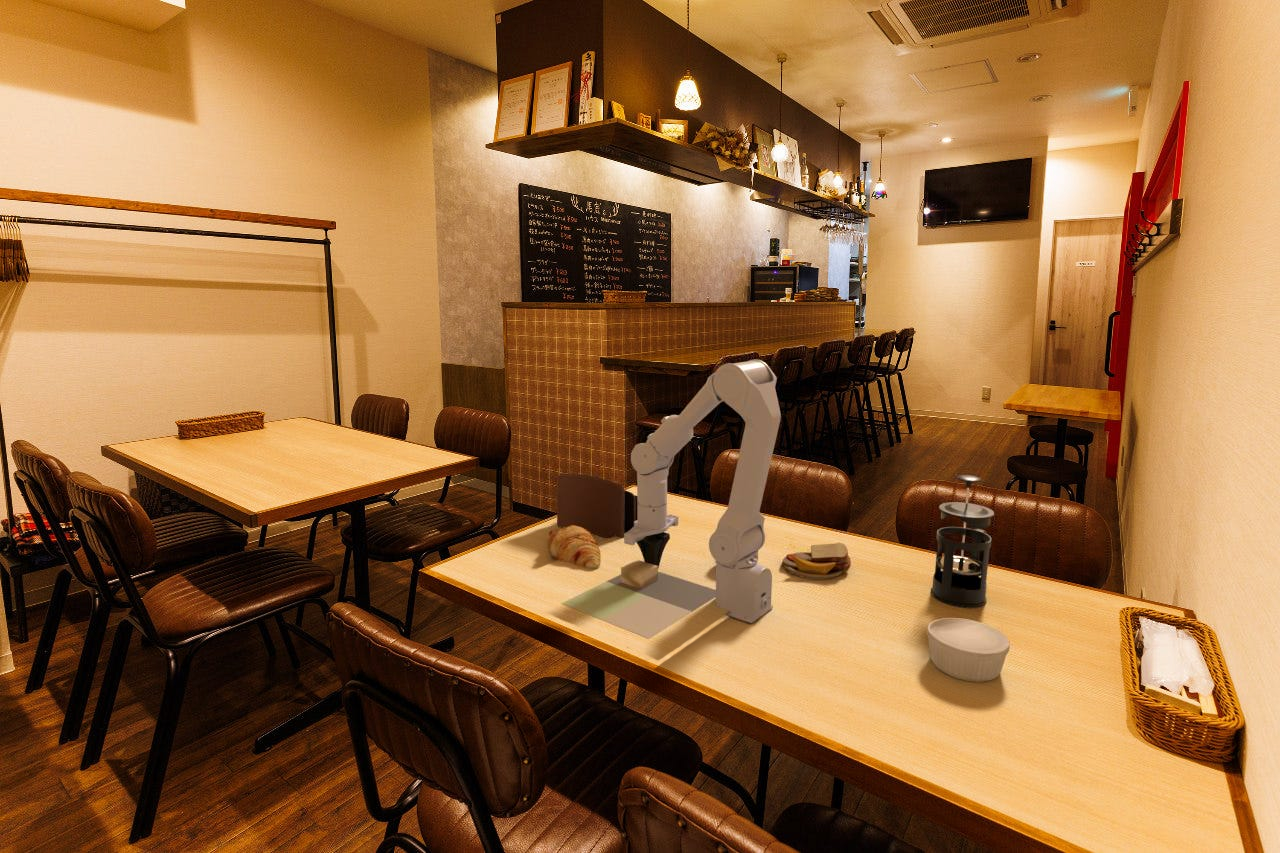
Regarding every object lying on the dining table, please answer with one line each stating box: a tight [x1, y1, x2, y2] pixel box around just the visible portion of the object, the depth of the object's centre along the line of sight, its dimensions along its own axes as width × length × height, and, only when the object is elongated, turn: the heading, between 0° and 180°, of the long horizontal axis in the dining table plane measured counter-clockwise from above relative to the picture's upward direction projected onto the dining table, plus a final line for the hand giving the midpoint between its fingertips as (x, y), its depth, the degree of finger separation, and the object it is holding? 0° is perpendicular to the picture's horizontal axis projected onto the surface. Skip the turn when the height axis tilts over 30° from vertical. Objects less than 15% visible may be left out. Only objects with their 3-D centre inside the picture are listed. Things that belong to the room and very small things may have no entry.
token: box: [620, 559, 659, 589], centre depth 129 cm, size 5×5×3 cm
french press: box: [930, 474, 995, 609], centre depth 123 cm, size 12×9×23 cm
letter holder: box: [556, 473, 637, 539], centre depth 161 cm, size 10×20×14 cm, turn 56°
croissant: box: [547, 525, 602, 570], centre depth 144 cm, size 21×10×8 cm, turn 33°
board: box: [560, 571, 716, 640], centre depth 122 cm, size 20×22×1 cm
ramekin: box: [926, 617, 1011, 683], centre depth 101 cm, size 11×11×5 cm
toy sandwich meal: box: [782, 542, 852, 580], centre depth 137 cm, size 12×14×5 cm
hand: (652, 569), depth 132 cm, fingers closed
